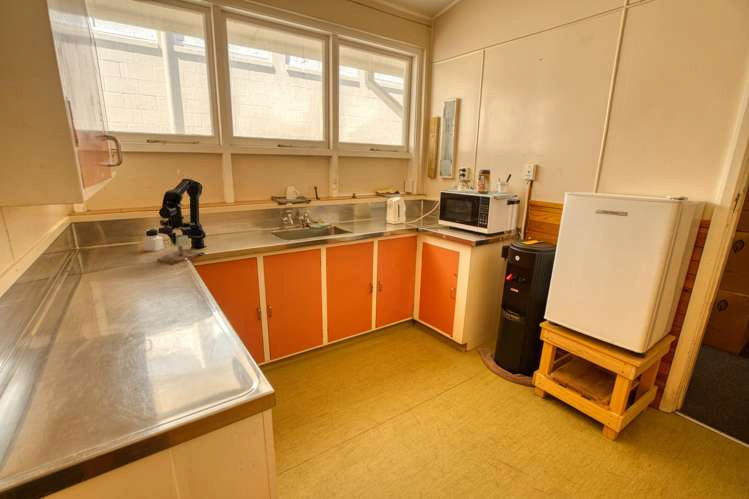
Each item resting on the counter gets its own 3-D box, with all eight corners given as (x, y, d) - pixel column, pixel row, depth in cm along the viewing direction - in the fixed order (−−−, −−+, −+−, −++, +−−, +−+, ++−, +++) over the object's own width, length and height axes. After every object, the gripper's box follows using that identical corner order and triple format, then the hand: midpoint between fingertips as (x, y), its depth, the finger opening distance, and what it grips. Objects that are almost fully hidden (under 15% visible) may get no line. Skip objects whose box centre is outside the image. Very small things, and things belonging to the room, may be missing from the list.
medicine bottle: (164, 247, 211) (161, 228, 208) (155, 251, 204) (152, 231, 201) (153, 247, 212) (149, 228, 208) (144, 250, 205) (141, 230, 201)
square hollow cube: (180, 243, 194) (179, 234, 193) (188, 244, 192) (187, 235, 191) (171, 245, 189) (169, 236, 188) (179, 246, 187) (177, 237, 186)
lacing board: (189, 251, 204) (187, 239, 202) (204, 254, 199) (203, 241, 197) (157, 261, 186) (155, 247, 184) (173, 264, 182) (171, 250, 180)
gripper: (180, 211, 197) (184, 237, 202) (148, 216, 181) (153, 245, 185) (194, 212, 193) (198, 240, 198) (163, 218, 177) (168, 248, 181)
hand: (179, 243), depth 190 cm, fingers closed on square hollow cube, 6 cm apart
